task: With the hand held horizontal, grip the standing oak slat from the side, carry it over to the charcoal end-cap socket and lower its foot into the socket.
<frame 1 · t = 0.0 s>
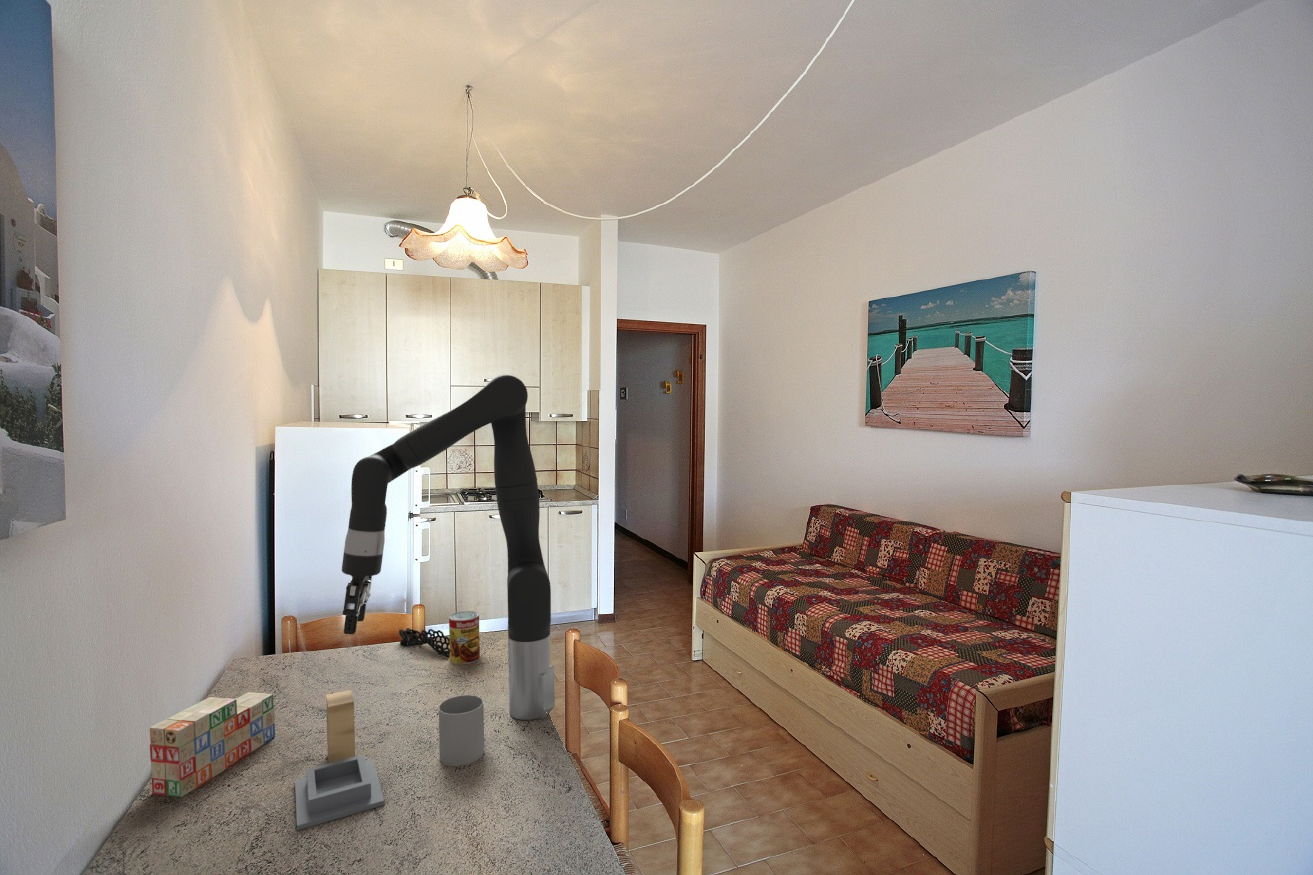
hand: (354, 626, 134), 22 cm above the table, tool pointing down, fingers open, 8 cm apart
canned food: (465, 659, 174), on the table
end cap: (338, 794, 112), on the table
cup: (462, 755, 125), on the table
decorative element: (425, 650, 182), on the table
slat: (341, 758, 124), on the table
stack of blocks: (218, 764, 123), on the table
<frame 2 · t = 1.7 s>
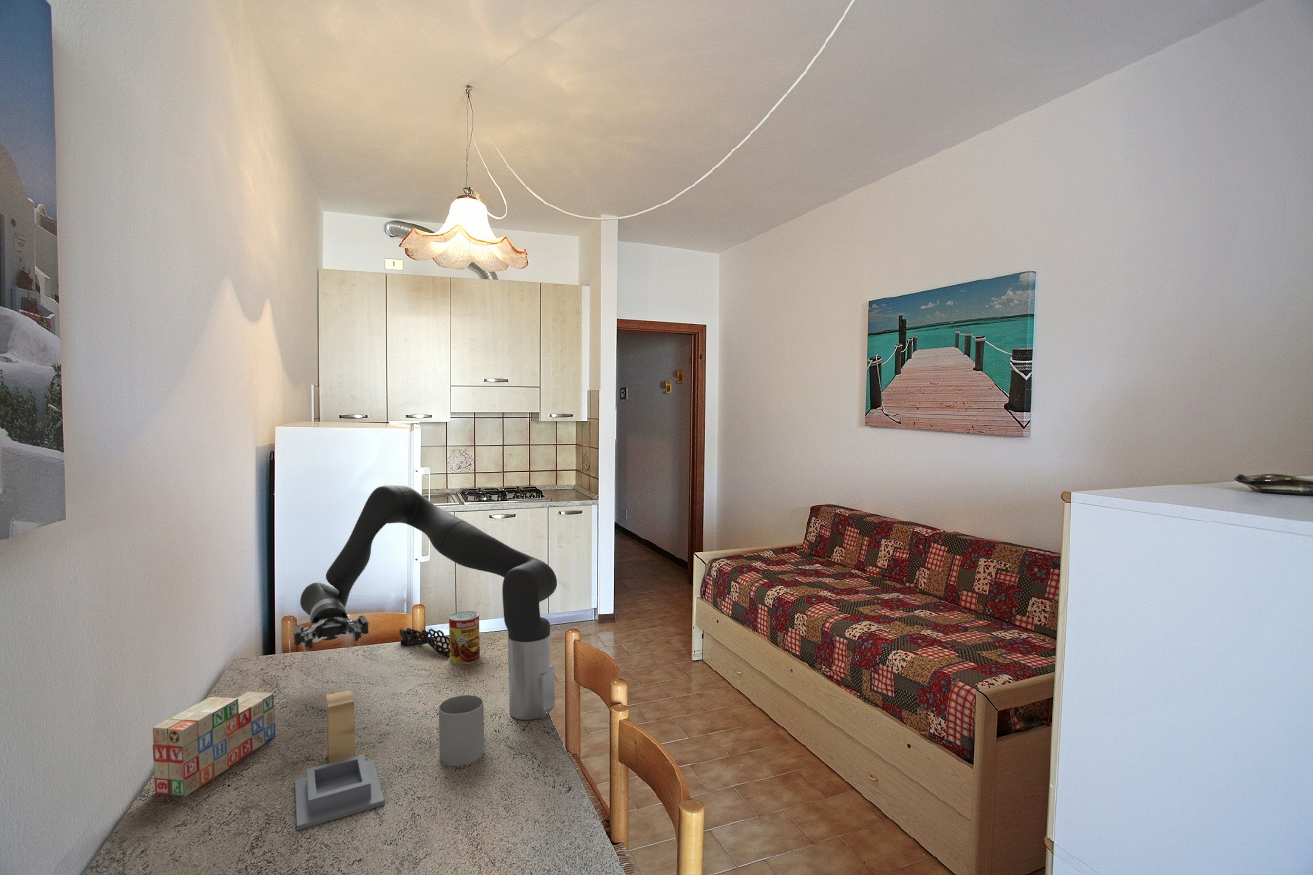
hand: (334, 640, 133), 20 cm above the table, tool horizontal, fingers open, 8 cm apart
nothing on the table moved.
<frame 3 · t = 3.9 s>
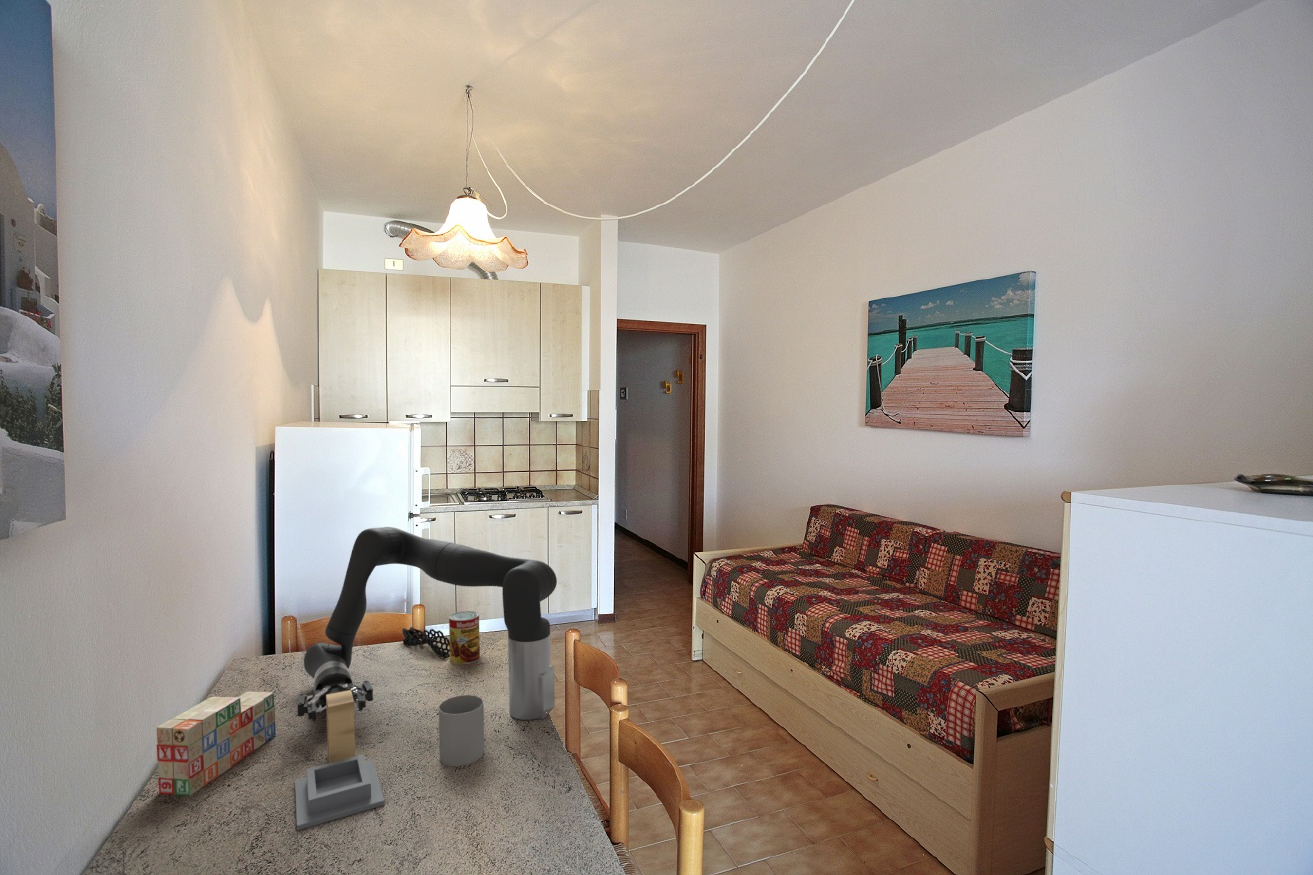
hand: (338, 711, 130), 6 cm above the table, tool horizontal, fingers open, 8 cm apart
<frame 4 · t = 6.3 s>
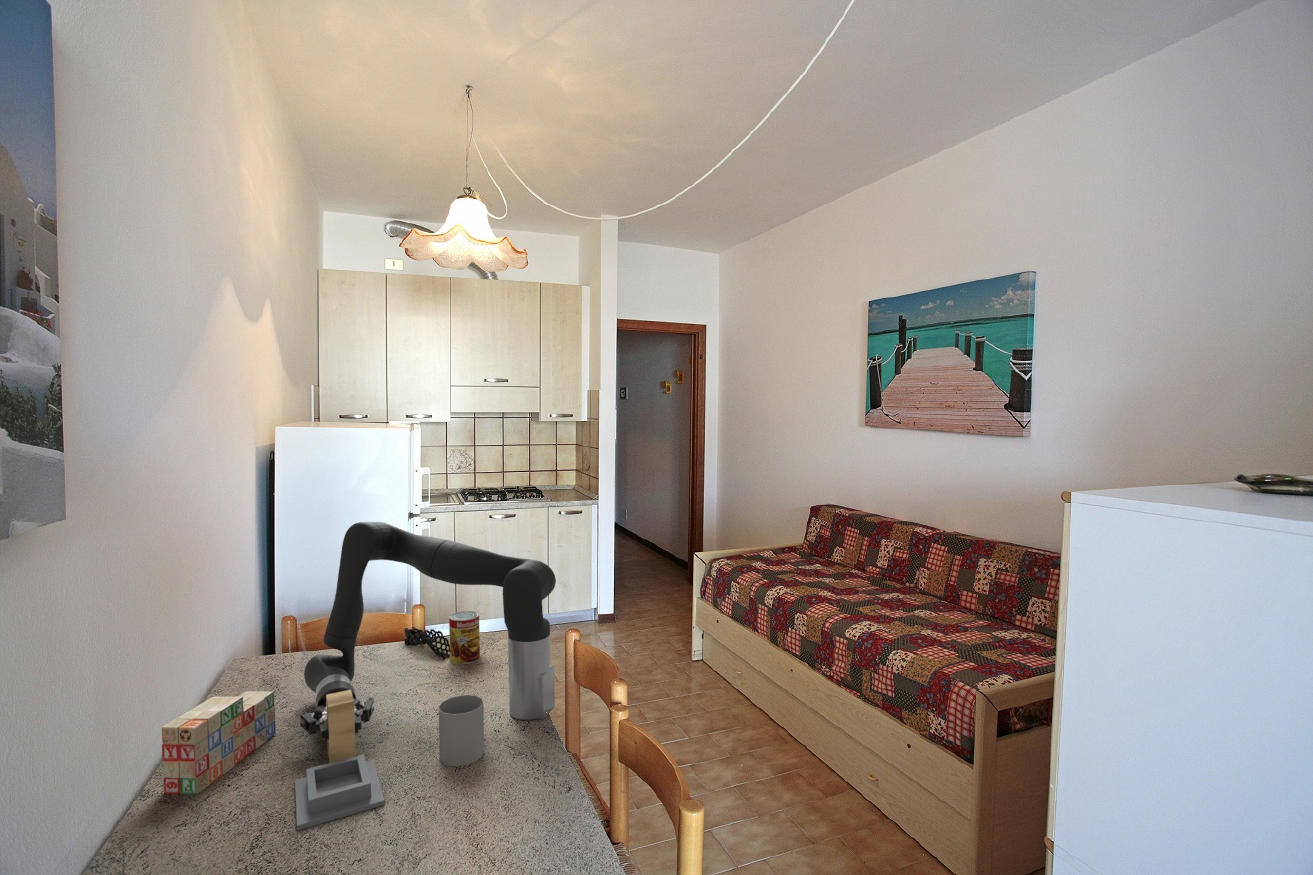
hand: (342, 731, 121), 7 cm above the table, tool horizontal, fingers closed on slat, 4 cm apart
slat: (341, 758, 124), on the table, touching gripper
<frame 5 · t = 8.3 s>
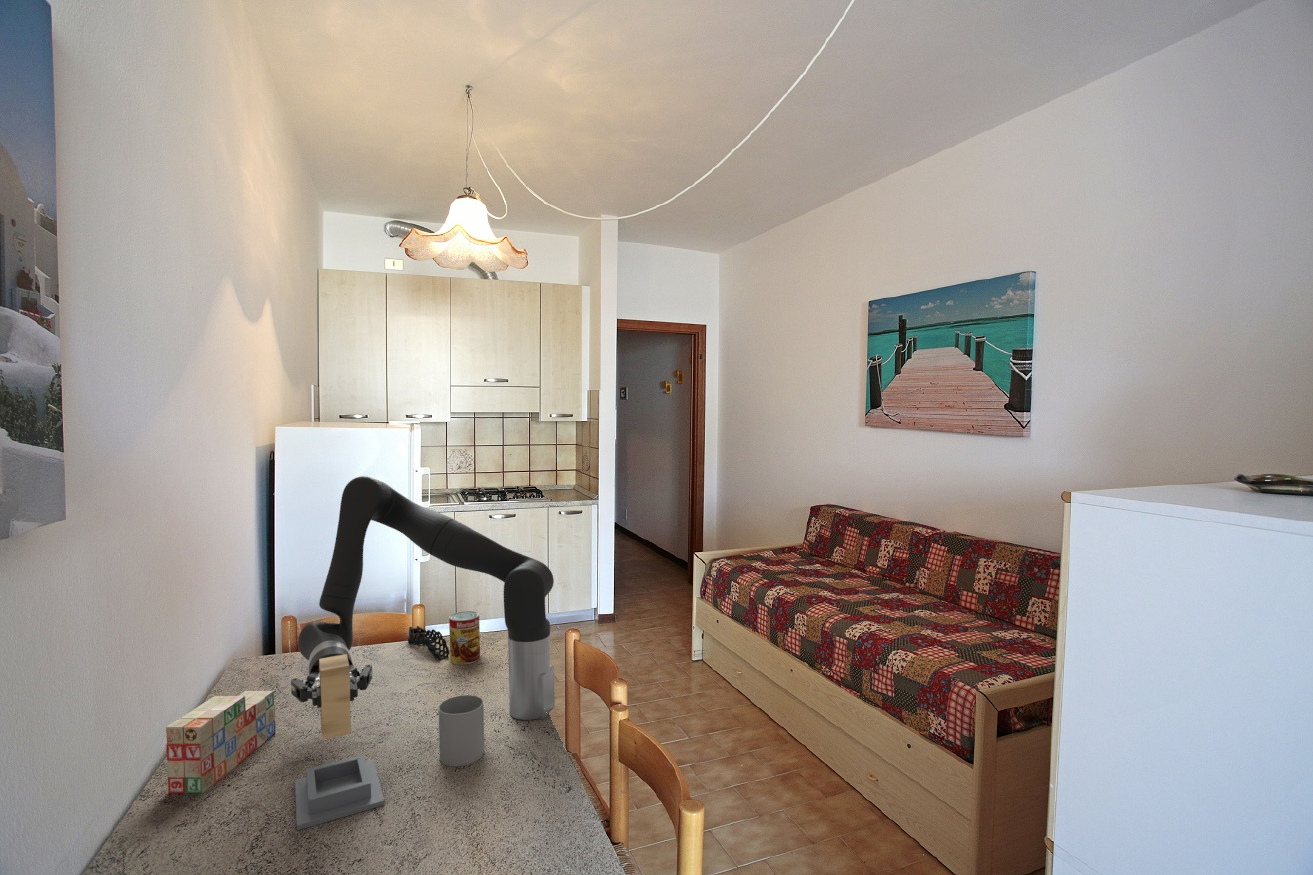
hand: (336, 698, 110), 18 cm above the table, tool horizontal, fingers closed on slat, 4 cm apart
slat: (335, 729, 113), point 11 cm above the table, touching gripper
when the fingers open (8 cm above the table, at t = 10.6 s): slat drops 1 cm, resting on end cap.
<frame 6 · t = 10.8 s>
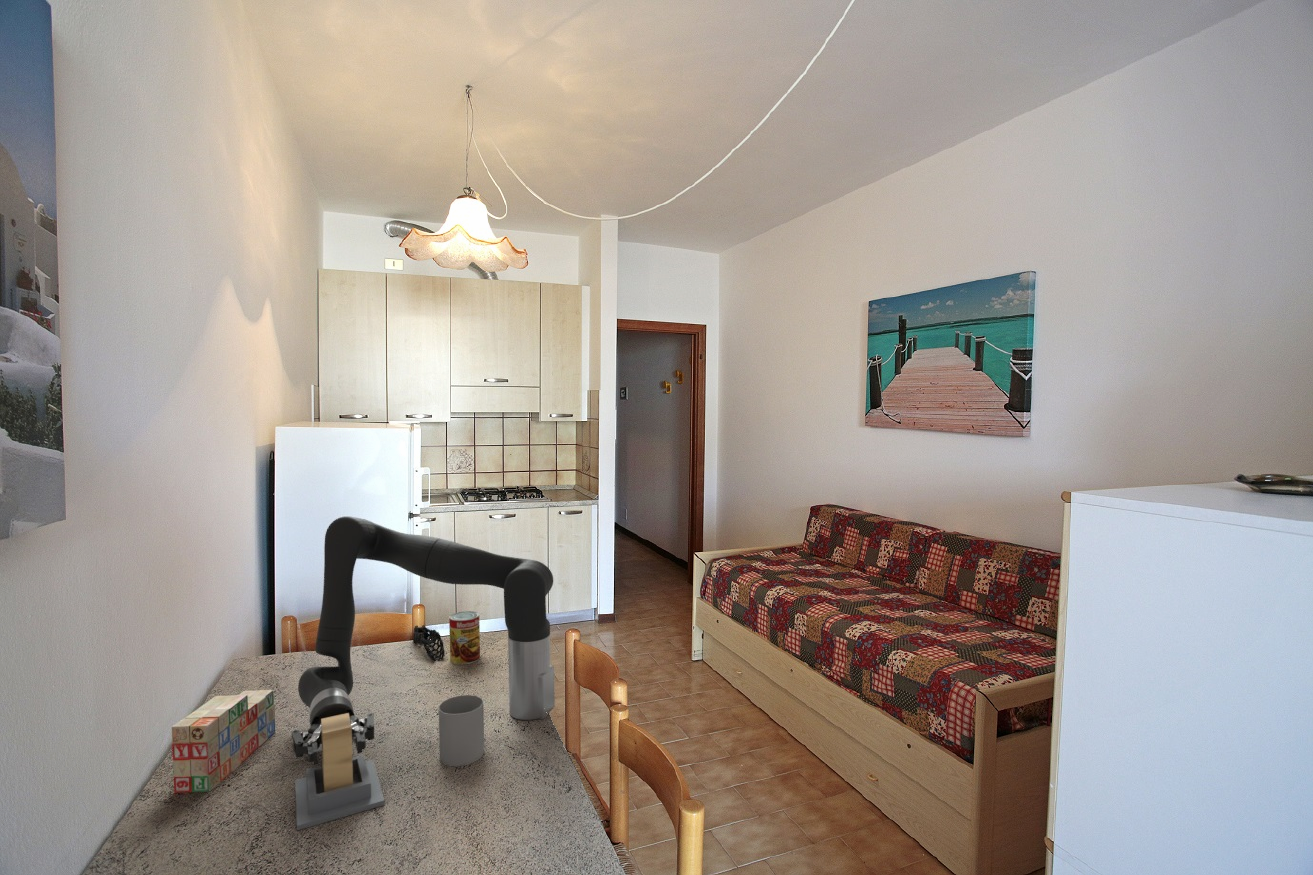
hand: (338, 752, 110), 8 cm above the table, tool horizontal, fingers open, 6 cm apart
slat: (337, 789, 112), point 1 cm above the table, touching end cap
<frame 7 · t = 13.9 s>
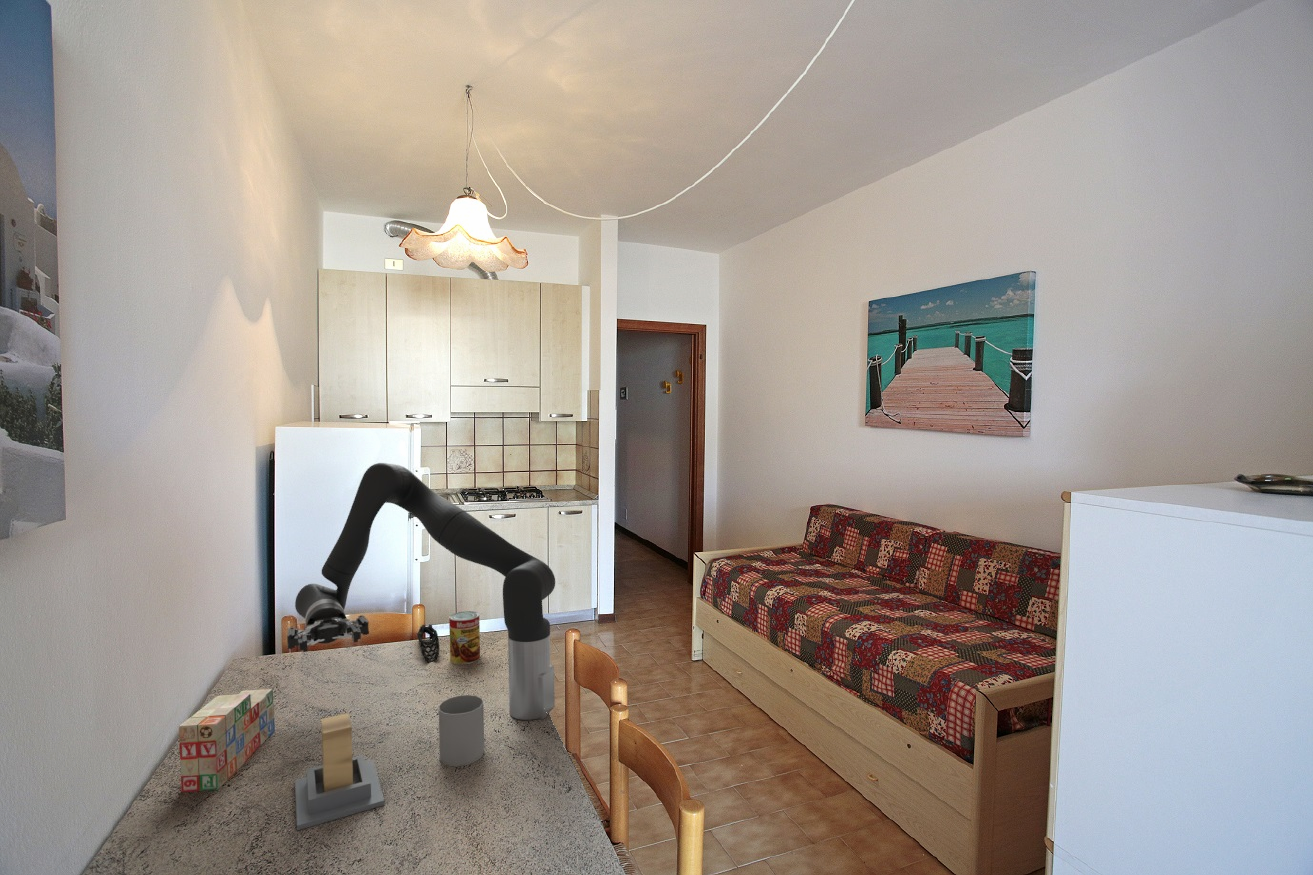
hand: (331, 641, 121), 24 cm above the table, tool horizontal, fingers open, 8 cm apart
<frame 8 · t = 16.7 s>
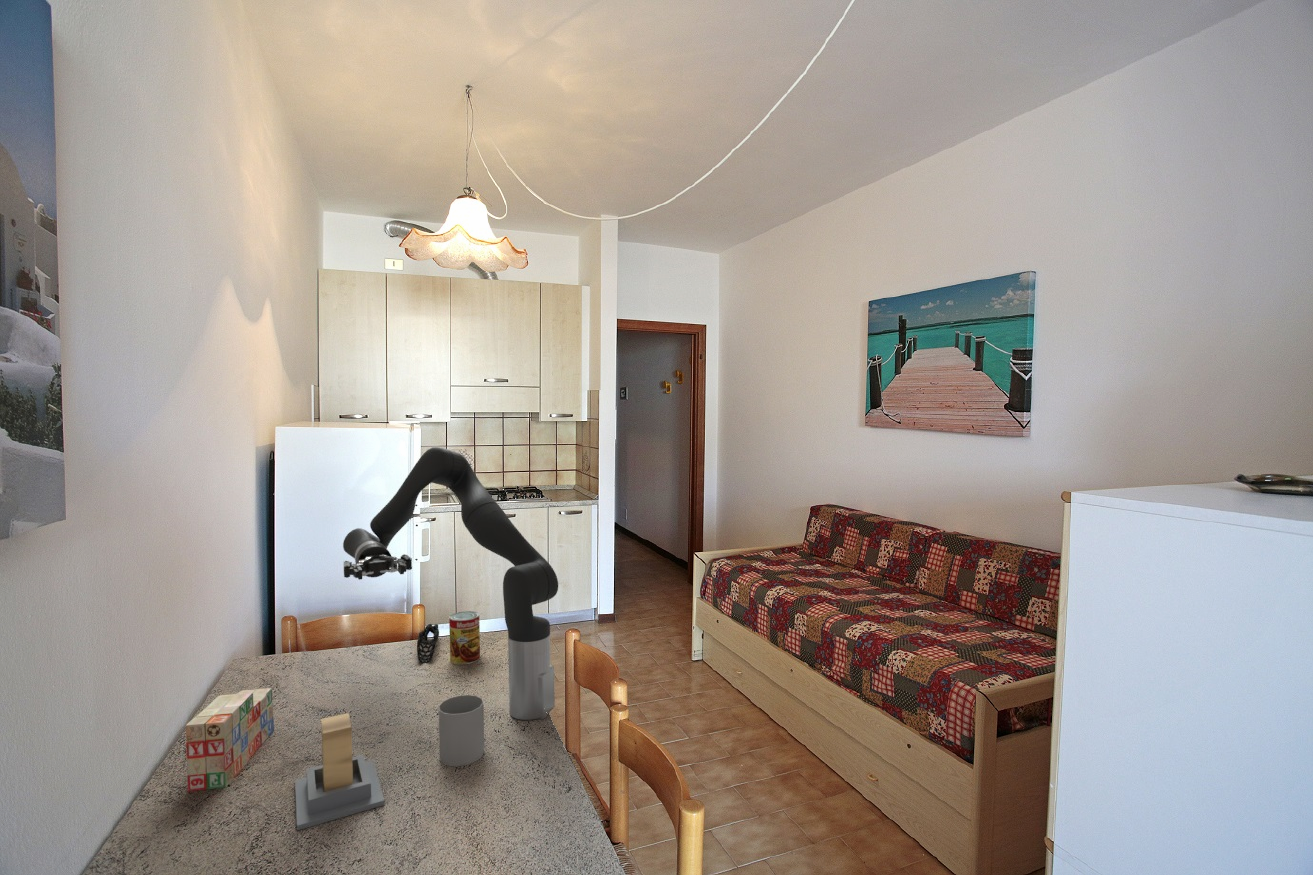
hand: (381, 572, 141), 32 cm above the table, tool horizontal, fingers open, 8 cm apart
at the end: slat 0.1 cm off-centre on the end cap, point 0.8 cm above the end cap's base; slat tilted 0°; the gripper is holding nothing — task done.
